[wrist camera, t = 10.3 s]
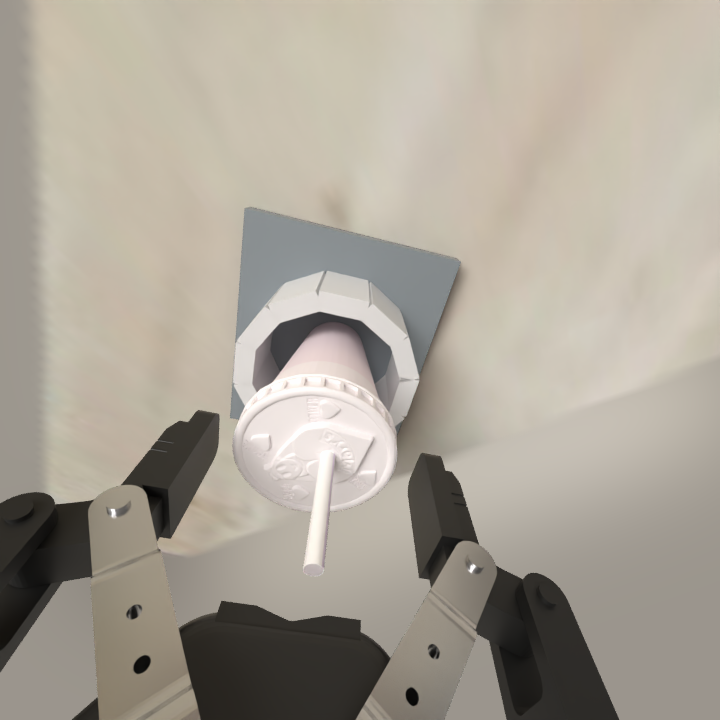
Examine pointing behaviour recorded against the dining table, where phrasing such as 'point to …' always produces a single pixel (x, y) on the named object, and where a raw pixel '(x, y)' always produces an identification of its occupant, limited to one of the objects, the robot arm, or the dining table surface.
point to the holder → (335, 302)
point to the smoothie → (318, 434)
